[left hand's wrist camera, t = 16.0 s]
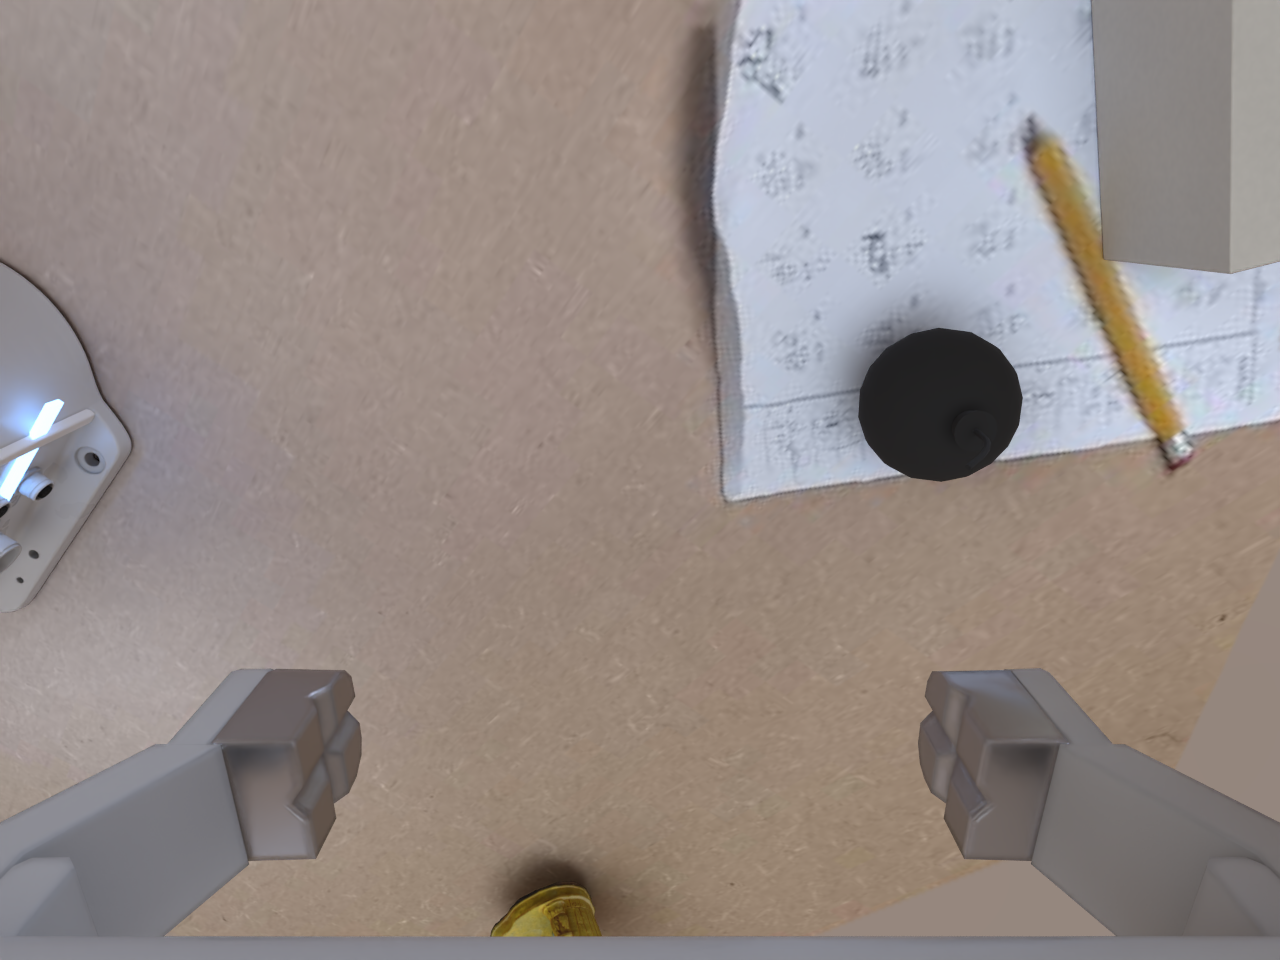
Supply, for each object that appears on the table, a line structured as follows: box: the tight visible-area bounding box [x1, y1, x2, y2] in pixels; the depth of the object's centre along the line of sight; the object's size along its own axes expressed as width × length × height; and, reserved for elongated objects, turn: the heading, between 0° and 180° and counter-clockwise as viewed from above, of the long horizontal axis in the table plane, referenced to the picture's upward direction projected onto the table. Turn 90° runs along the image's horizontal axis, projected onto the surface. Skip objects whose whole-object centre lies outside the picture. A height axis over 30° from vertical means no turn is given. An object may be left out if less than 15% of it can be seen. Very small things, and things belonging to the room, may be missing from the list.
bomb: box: [858, 328, 1023, 482], centre depth 37 cm, size 8×8×12 cm
